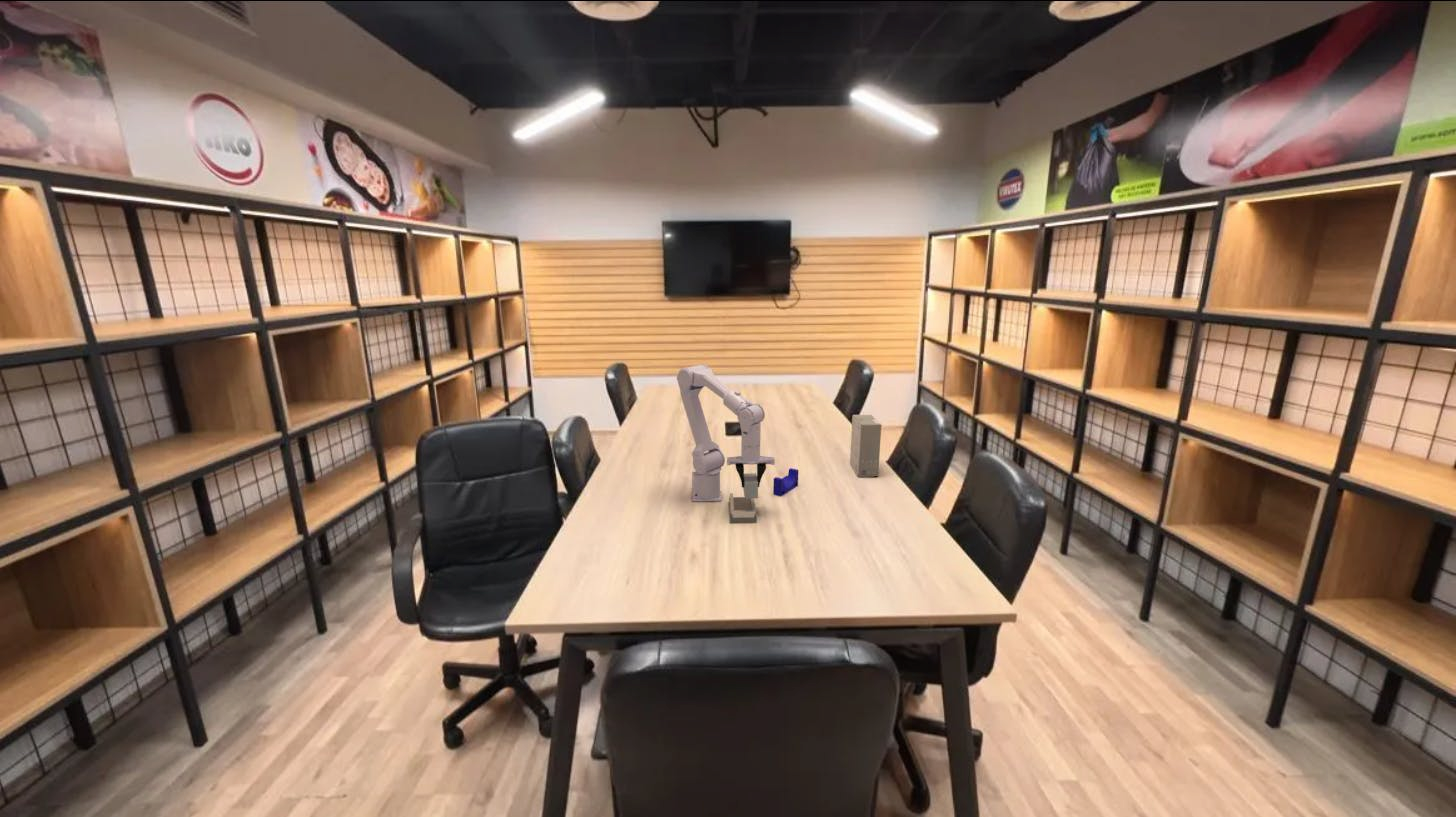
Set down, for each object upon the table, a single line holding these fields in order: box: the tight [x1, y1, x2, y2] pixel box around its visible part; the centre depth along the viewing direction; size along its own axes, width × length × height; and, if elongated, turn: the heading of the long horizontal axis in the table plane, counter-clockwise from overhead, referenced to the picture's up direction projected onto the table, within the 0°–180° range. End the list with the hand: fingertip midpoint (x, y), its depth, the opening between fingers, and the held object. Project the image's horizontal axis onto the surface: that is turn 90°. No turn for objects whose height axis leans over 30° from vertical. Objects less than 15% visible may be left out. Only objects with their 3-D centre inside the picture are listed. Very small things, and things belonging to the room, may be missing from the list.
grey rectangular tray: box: [728, 492, 758, 524], centre depth 173 cm, size 8×16×4 cm, turn 1°
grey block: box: [742, 472, 759, 499], centre depth 172 cm, size 4×8×5 cm, turn 2°
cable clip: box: [772, 467, 799, 497], centre depth 191 cm, size 12×4×6 cm, turn 145°
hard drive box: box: [849, 414, 883, 478], centre depth 207 cm, size 16×8×20 cm, turn 179°
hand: (750, 486), depth 172 cm, fingers closed on grey block, 4 cm apart
